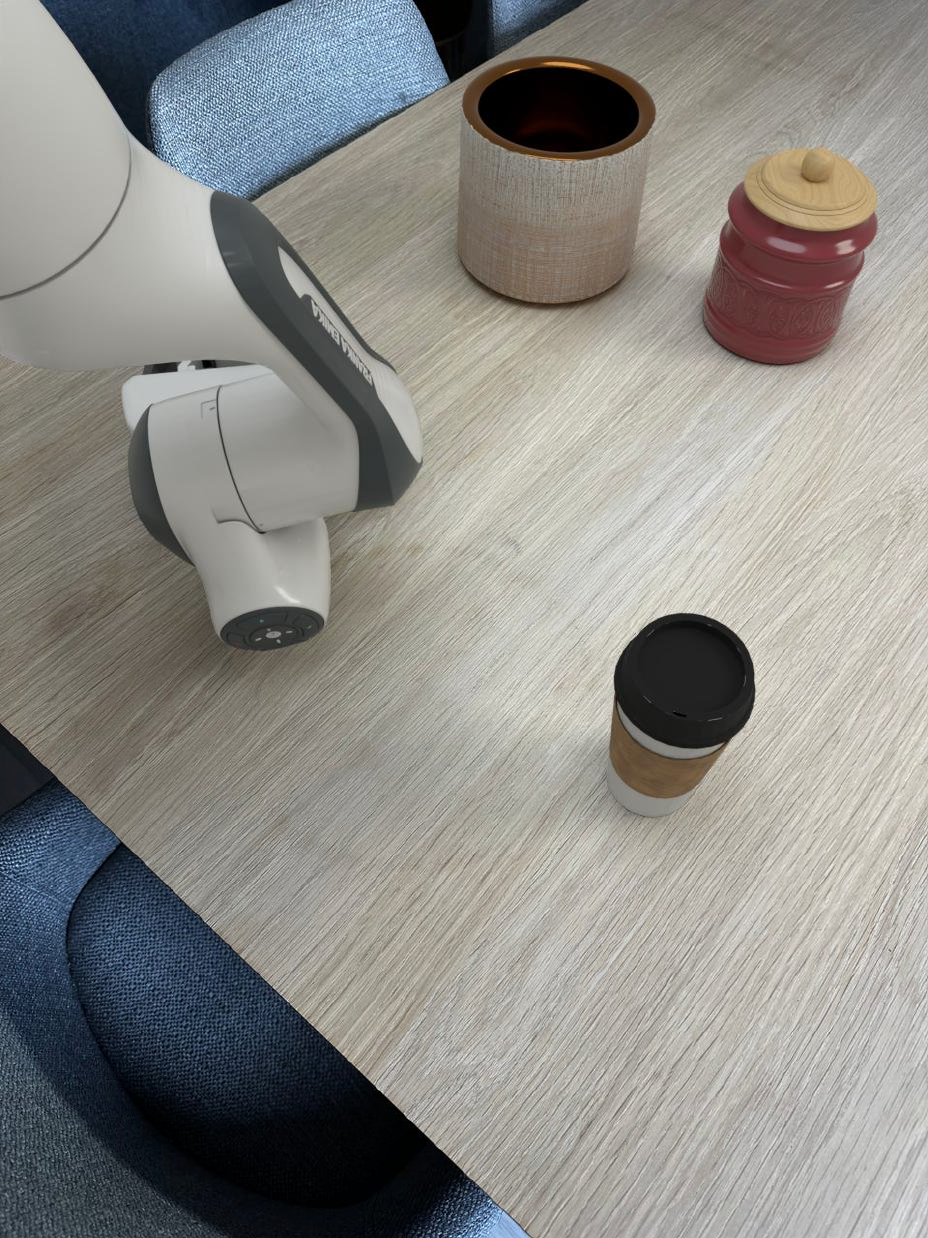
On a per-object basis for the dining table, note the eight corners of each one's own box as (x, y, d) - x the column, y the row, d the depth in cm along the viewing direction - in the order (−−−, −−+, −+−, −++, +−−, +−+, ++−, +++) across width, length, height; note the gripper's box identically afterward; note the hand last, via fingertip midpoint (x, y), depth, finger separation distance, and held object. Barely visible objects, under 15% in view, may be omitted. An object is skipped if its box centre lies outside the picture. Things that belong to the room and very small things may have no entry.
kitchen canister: (714, 267, 105) (759, 95, 90) (843, 297, 103) (910, 125, 88) (686, 348, 98) (730, 175, 83) (824, 381, 95) (894, 210, 81)
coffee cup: (574, 812, 70) (603, 701, 58) (605, 710, 75) (638, 587, 63) (696, 851, 69) (752, 746, 57) (719, 745, 74) (777, 626, 61)
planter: (661, 241, 107) (692, 91, 94) (575, 335, 98) (597, 184, 85) (515, 183, 112) (526, 33, 99) (422, 267, 104) (420, 115, 91)
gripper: (396, 418, 77) (374, 298, 84) (113, 446, 74) (117, 321, 82) (398, 476, 82) (377, 358, 90) (134, 504, 80) (136, 381, 87)
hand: (251, 340), depth 86 cm, fingers open, 7 cm apart
